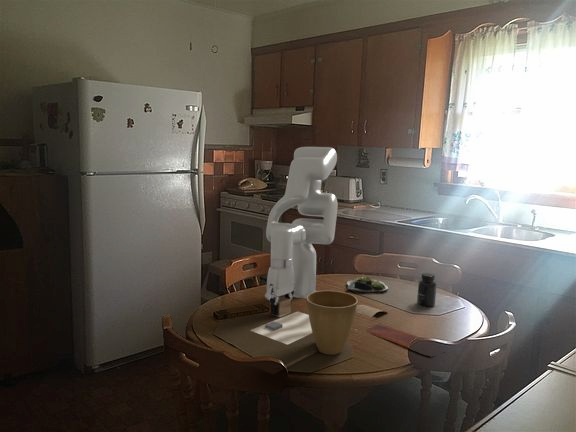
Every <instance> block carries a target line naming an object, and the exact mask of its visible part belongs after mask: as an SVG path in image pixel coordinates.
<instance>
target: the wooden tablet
mask: <svg viewBox="0 0 576 432" xmlns="http://www.w3.org/2000/svg"><path fill="white" fill-rule="evenodd" d="M365 332H367V333H369V334H370V335H372V336H375V337H379V338H380V339H383V340H386V341H389V342H391V343H394V344H396V345H399V346H400V347H403V348H406V349H408V346H409V344H410V342H411V341H412V340H414V339H415V338H419V337H420V336H418V335H417V336H416V335H414V334H411V333H408V332H405V331H402V330H398V329H396V328H393V327H390V326H387V325H384V324H378V323H377V324H374V325H372V326H370V327H367V328H366V329H365Z"/></svg>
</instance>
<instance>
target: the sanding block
mask: <svg viewBox="0 0 576 432" xmlns="http://www.w3.org/2000/svg"><path fill="white" fill-rule="evenodd" d="M277 304H278V316H275V315H272V314H271V313H270V315H272V316H275V317H278V318H282V317H285V316H287V315H290V314H292V300H291V299H288V298H285V297H284V296H280V297H279V299H278V303H277Z"/></svg>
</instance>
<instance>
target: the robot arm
mask: <svg viewBox="0 0 576 432" xmlns="http://www.w3.org/2000/svg"><path fill="white" fill-rule="evenodd" d="M337 161H338V154H337V151H336V150H335V148H333V147H329V146H301V147H298V148H296V149H295V150H294V153H293V160H292V161H291V163H290V167H289V171H288V176H287V182H286V187H285V193H284V195H283V197H281V198H280V199H279V200H278V201H277V202H276V203H275V204H274V205H273V207H272V208H271V210H270V212H269V214H268V219H267V225H266V229H265V235H266V239H267V241H268V242H270V267H269V268H268V272H267V276H266V278H267V279H266V293H265V294H264V298H265V299H266V300H267V301H268V303H269V304H270V315H271V314H272V316H274V315H275V317H277V316H278V304H277V303H278V299H279V298H280V297H285V298H288V299H291V301H292V300H293V298H298V299H299V298H300V299H307V296H308V295H309V294H311V293H313V292H317V291H318V290H316V284H317V283H316V282H317V281H316V280H317V276H316V275H317V252H316V249H315V248H314V246H313V244H315V245H316V244H317V245H330V244H332V243H333V241H334V240H335V233H336V227H337V226H336V224H337V216H338V206H339V205H338V199H337V196H336V195H335V194H334V193H330V192H321V190H322V181H325V180H327V179H328V177H329V176H330V174H331V173H332V172H333V170H334V169H335V167H336V166H337ZM296 206H297V211H298V213H299V214H300V215H303V216H309V217H322V218H323V219H317V218H308V217H307V218H304V217H301V218H296V219H295V220H293V221H292V223H288V222H279V219H280V218H281V216H282V215H283V213H284V212H286V211H287V210H289V209H292V208H293V207H296ZM274 298H275V299H274Z"/></svg>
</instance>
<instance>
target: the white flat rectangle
mask: <svg viewBox="0 0 576 432" xmlns="http://www.w3.org/2000/svg"><path fill="white" fill-rule="evenodd" d="M273 321H274V322H277V323H280V324H282V328H280V329H278V330H275V331H273V330H270V329H268V328H265V325H266V324H268V323H271V322H273ZM273 321H270V322H267V323H265V324H262V325H260V326H258V327H255V328H252V329H250V330H249V331H250V332H253V333H255V334H258V335H261V336H263V337H265V338H268V339H271V340H274V341H276V342H279V343H282V344H284V345H290V344H292V343H294V342H297V341H298V340H301V339H303V338H305V337H307V336H309V335H311V334H312V335H313V333H312V329H311V324H310V319H309V313H308V314H307V313H304V312H300V311H296V312H293V313H289V314H287V315H284V316H282V317H279V318H278V319H274V320H273Z"/></svg>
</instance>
